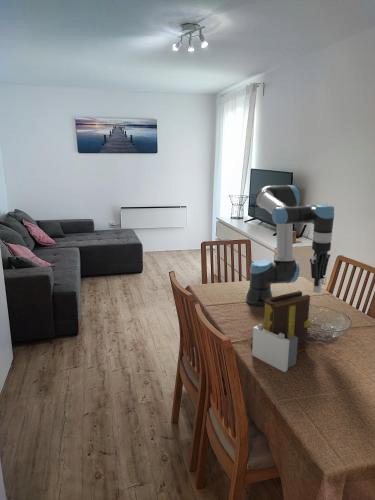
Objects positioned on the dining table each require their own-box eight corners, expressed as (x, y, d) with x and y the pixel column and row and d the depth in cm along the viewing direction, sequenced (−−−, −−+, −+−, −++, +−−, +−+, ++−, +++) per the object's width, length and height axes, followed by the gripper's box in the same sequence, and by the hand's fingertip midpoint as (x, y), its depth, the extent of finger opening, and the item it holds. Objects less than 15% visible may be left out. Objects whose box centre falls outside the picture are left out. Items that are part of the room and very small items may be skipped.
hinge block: (253, 340, 165) (254, 332, 164) (262, 342, 163) (262, 334, 162) (250, 344, 162) (251, 336, 161) (259, 346, 160) (259, 338, 159)
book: (271, 363, 147) (274, 306, 141) (258, 353, 155) (261, 298, 148) (312, 349, 157) (317, 295, 150) (298, 341, 164) (302, 289, 157)
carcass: (264, 348, 158) (265, 316, 154) (296, 364, 146) (298, 330, 143) (252, 355, 153) (253, 322, 149) (284, 372, 141) (286, 337, 137)
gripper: (321, 236, 163) (317, 286, 170) (305, 242, 155) (301, 293, 162) (337, 240, 158) (332, 290, 164) (321, 245, 150) (316, 298, 156)
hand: (317, 292), depth 163 cm, fingers closed
